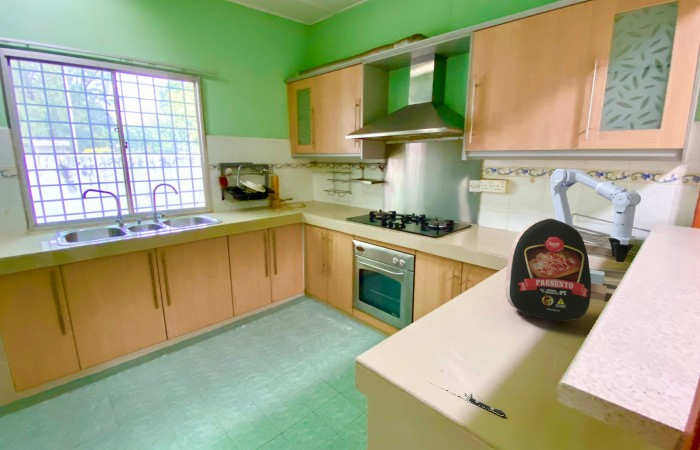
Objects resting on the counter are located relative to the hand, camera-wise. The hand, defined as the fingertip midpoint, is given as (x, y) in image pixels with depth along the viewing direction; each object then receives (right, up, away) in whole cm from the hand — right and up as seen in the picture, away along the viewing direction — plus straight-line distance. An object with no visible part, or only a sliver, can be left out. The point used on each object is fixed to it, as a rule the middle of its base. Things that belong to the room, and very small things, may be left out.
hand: (617, 259), depth 119 cm
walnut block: (-14, -12, -4) cm, 19 cm away
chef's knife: (-78, -23, -52) cm, 97 cm away
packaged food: (-41, -15, -19) cm, 47 cm away
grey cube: (-6, -10, +4) cm, 12 cm away
